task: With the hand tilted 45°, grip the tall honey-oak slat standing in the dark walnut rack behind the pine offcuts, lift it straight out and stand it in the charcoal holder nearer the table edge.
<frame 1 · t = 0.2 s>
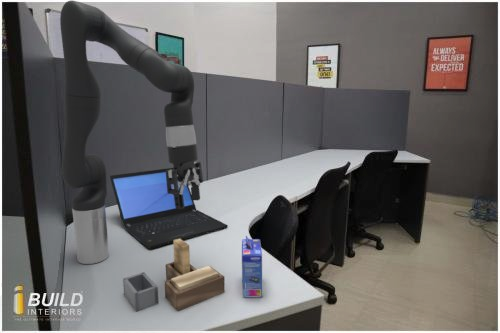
hand: (188, 204, 89), 23 cm above the table, tool pointing down, fingers open, 8 cm apart
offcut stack: (195, 294, 88), resting in rack
holder: (140, 298, 86), on the table
laptop: (169, 225, 138), on the table
oak slat: (182, 282, 94), resting in rack
rack: (188, 288, 91), on the table
ink cartridge box: (251, 288, 92), on the table
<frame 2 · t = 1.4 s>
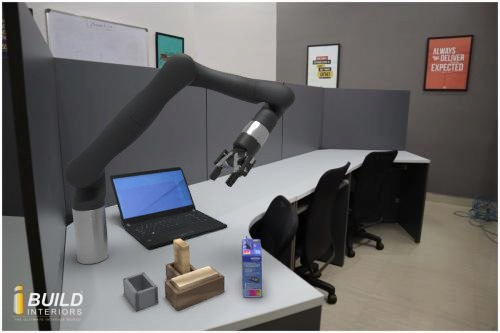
hand: (219, 182, 96), 27 cm above the table, tool tilted 45°, fingers open, 8 cm apart
nothing on the table moved.
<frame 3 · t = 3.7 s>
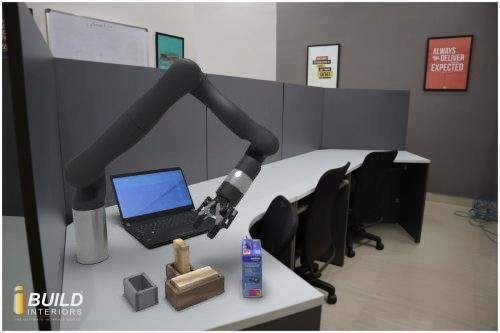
hand: (201, 232, 95), 13 cm above the table, tool tilted 45°, fingers open, 8 cm apart
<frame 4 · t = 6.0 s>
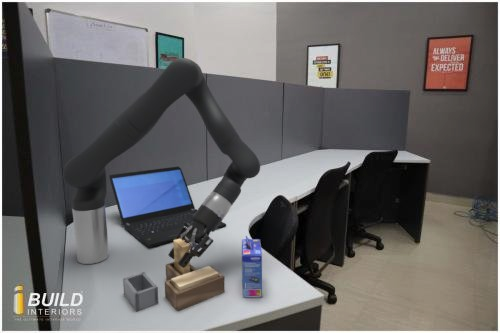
hand: (175, 261, 92), 7 cm above the table, tool tilted 45°, fingers closed on oak slat, 5 cm apart
oak slat: (182, 282, 94), resting in rack, touching gripper
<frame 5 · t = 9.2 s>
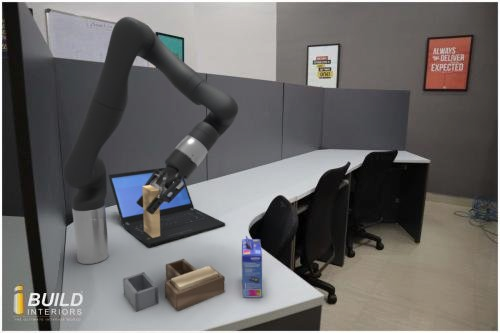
hand: (144, 208, 83), 24 cm above the table, tool tilted 45°, fingers closed on oak slat, 5 cm apart
oak slat: (152, 233, 86), point 17 cm above the table, touching gripper
when the fingers open (8 cm above the table, at t = 12.5 s): oak slat drops 1 cm, resting in holder.
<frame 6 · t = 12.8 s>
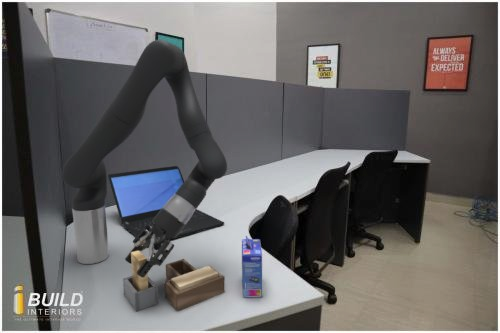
hand: (133, 268, 84), 9 cm above the table, tool tilted 45°, fingers open, 8 cm apart
oak slat: (141, 298, 87), resting in holder
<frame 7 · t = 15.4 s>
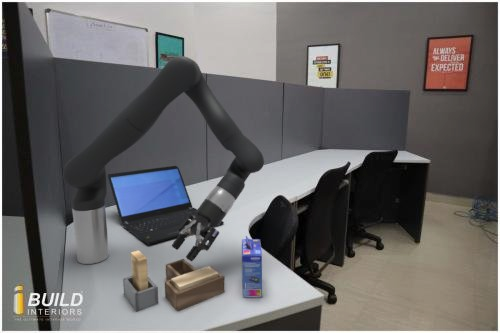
hand: (181, 253, 92), 9 cm above the table, tool tilted 45°, fingers open, 8 cm apart
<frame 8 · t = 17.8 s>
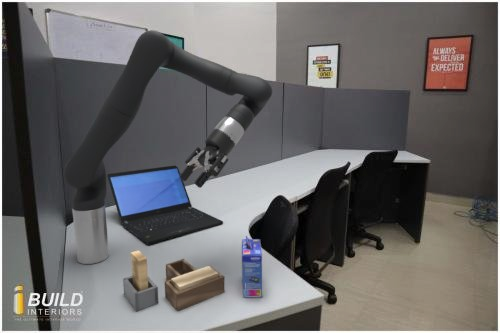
hand: (189, 182, 90), 29 cm above the table, tool tilted 45°, fingers open, 8 cm apart
at the end: oak slat 0.1 cm off-centre on the holder, point 0.0 cm above the holder's base; oak slat tilted 0°; the gripper is holding nothing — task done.
